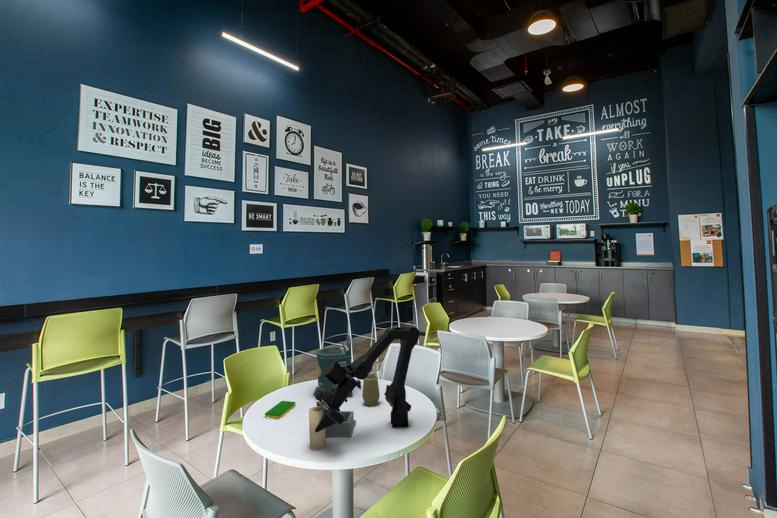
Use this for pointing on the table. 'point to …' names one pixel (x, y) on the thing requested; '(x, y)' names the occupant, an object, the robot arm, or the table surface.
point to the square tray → (342, 426)
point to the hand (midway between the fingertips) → (313, 428)
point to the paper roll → (315, 437)
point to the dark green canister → (328, 356)
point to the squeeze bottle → (370, 389)
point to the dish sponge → (280, 409)
